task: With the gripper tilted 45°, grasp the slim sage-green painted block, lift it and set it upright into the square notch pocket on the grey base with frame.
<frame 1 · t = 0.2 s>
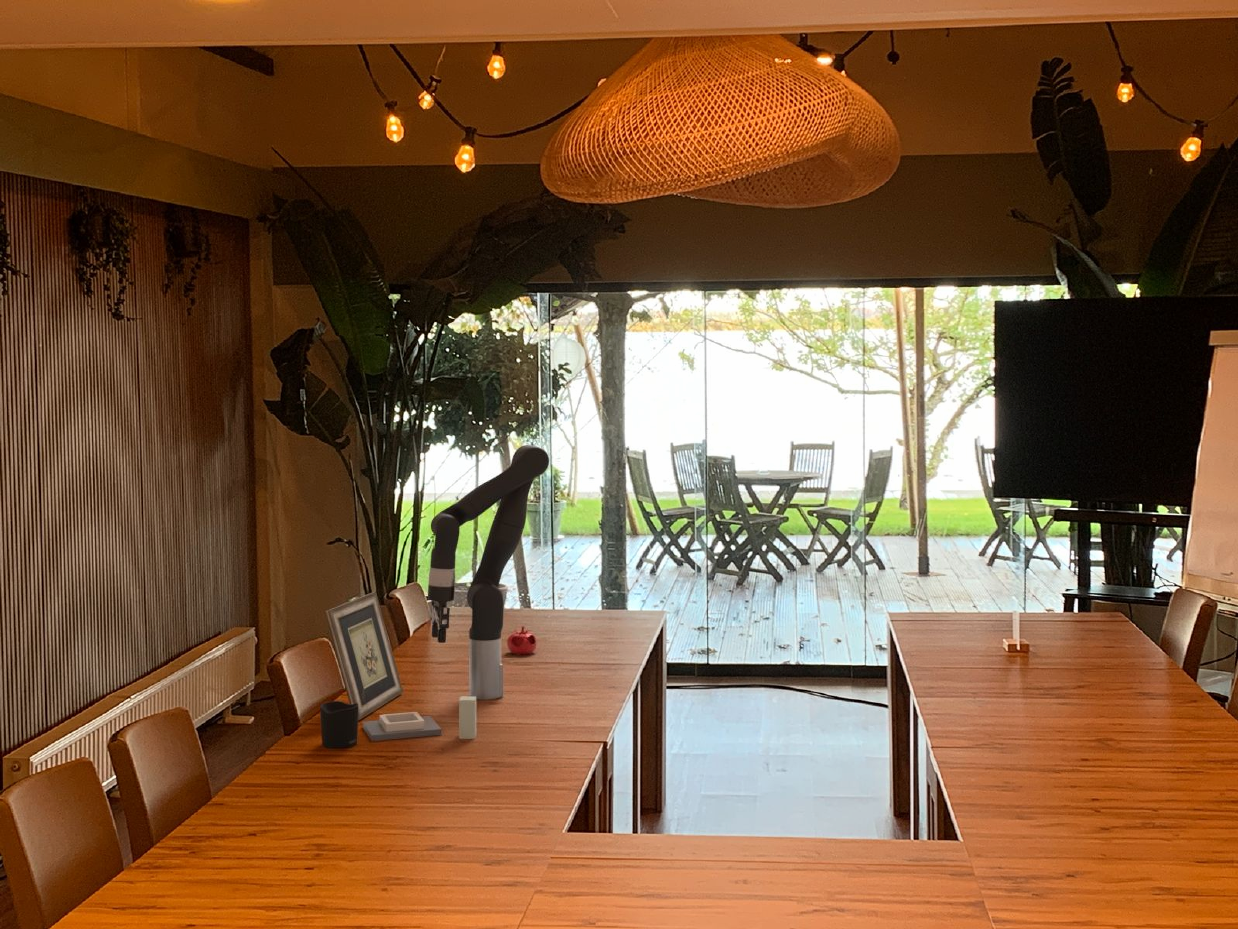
hand: (438, 640, 362), 18 cm above the table, tool pointing down, fingers open, 8 cm apart
picture frame: (365, 707, 356), on the table
pomegranate: (521, 653, 429), on the table
grey base with frame: (401, 731, 330), on the table
sage block: (467, 736, 325), on the table
pen holder: (339, 745, 318), on the table
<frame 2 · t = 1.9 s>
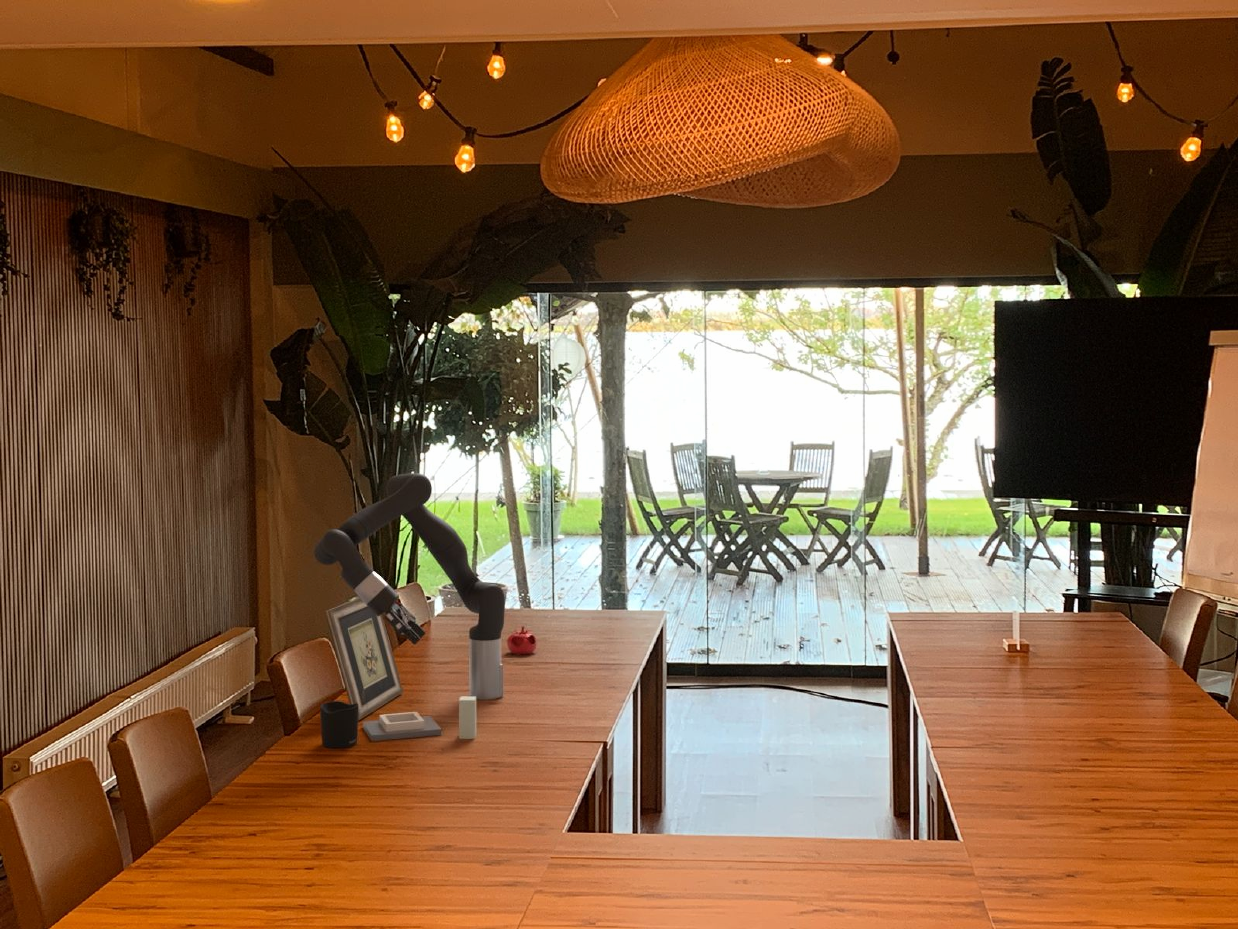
hand: (420, 639, 324), 25 cm above the table, tool tilted 45°, fingers open, 8 cm apart
nothing on the table moved.
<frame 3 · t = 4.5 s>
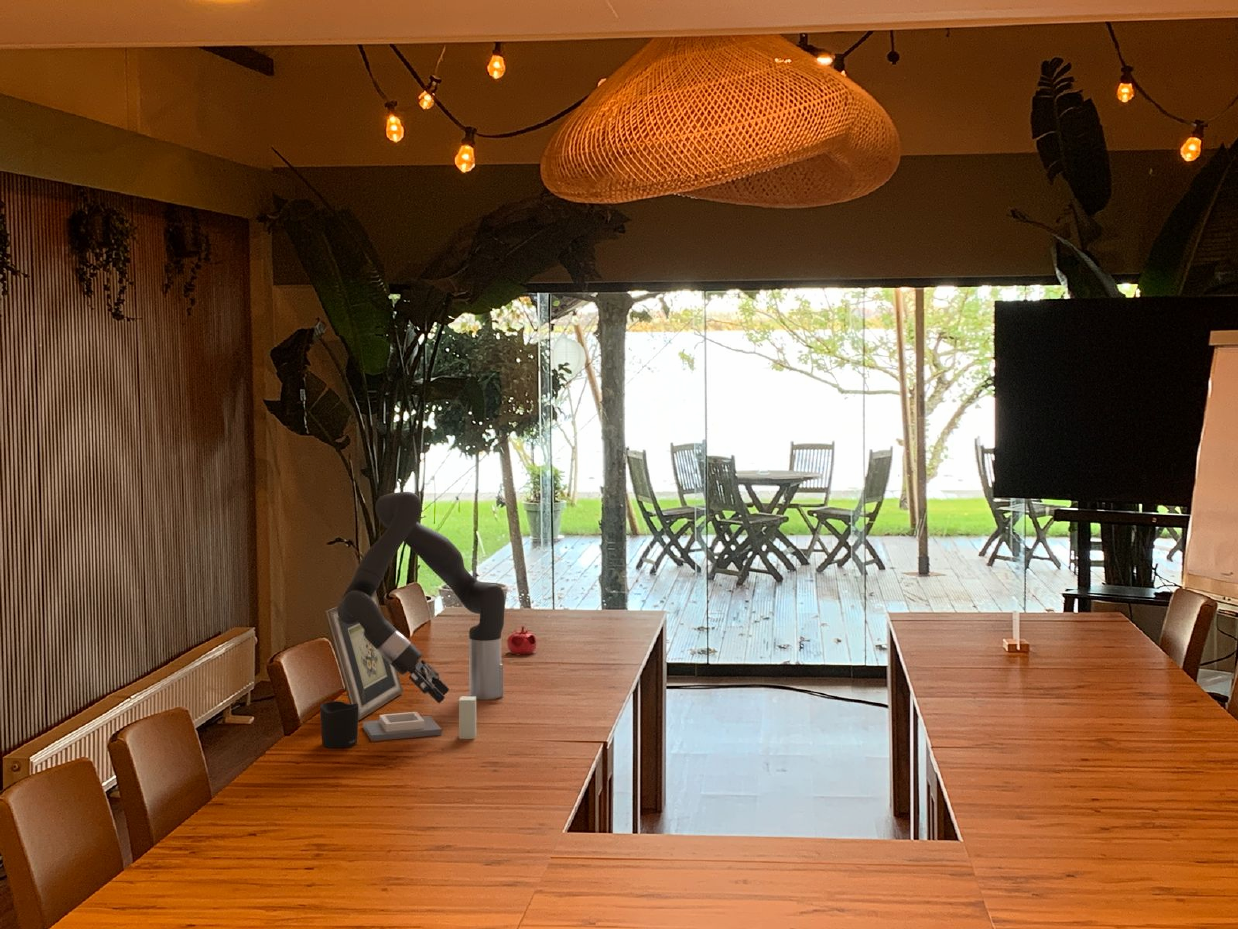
hand: (444, 696, 325), 10 cm above the table, tool tilted 45°, fingers open, 8 cm apart
nothing on the table moved.
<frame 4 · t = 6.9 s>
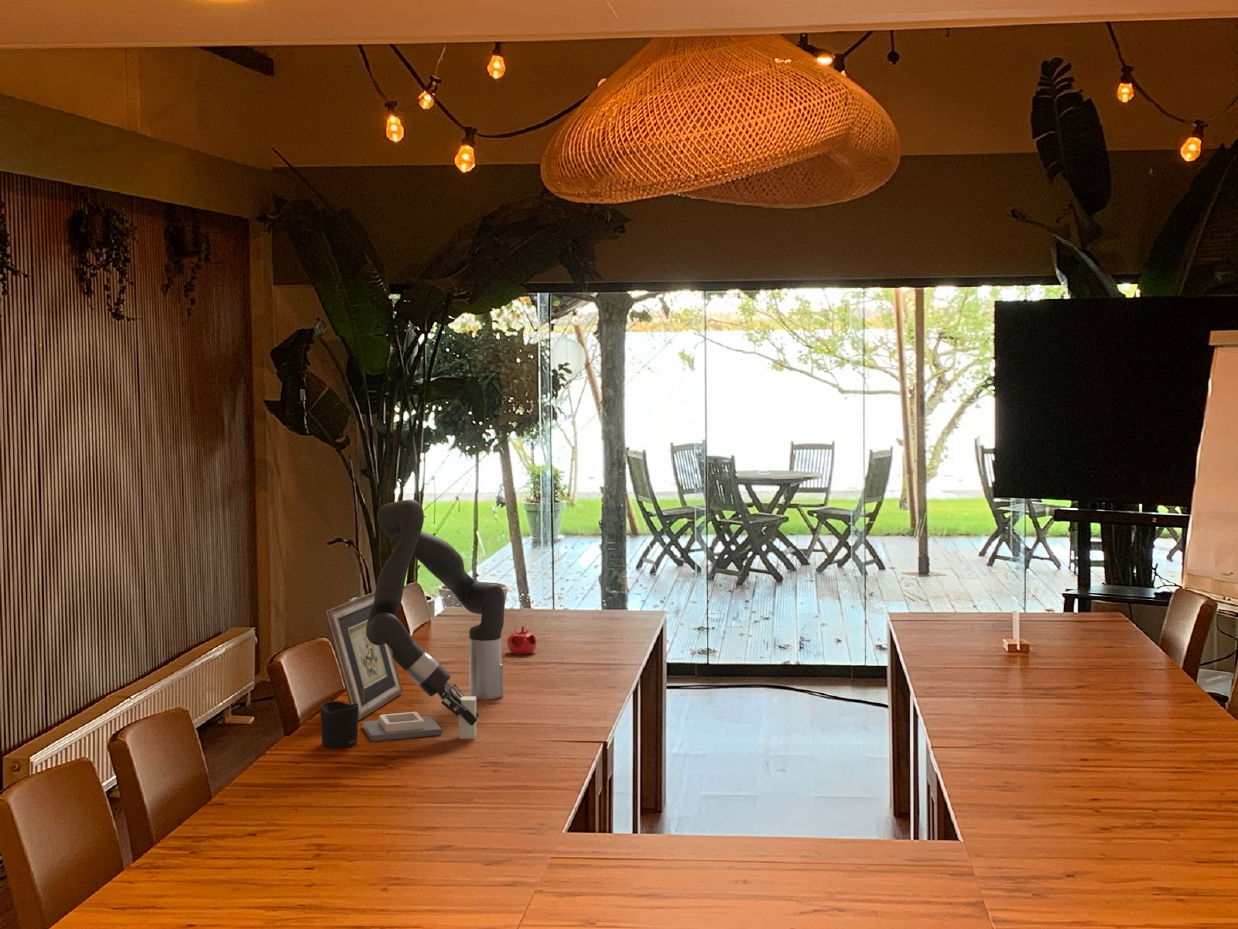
hand: (475, 720, 325), 4 cm above the table, tool tilted 45°, fingers closed on sage block, 4 cm apart
sage block: (467, 736, 325), on the table, touching gripper
everything else where it was.
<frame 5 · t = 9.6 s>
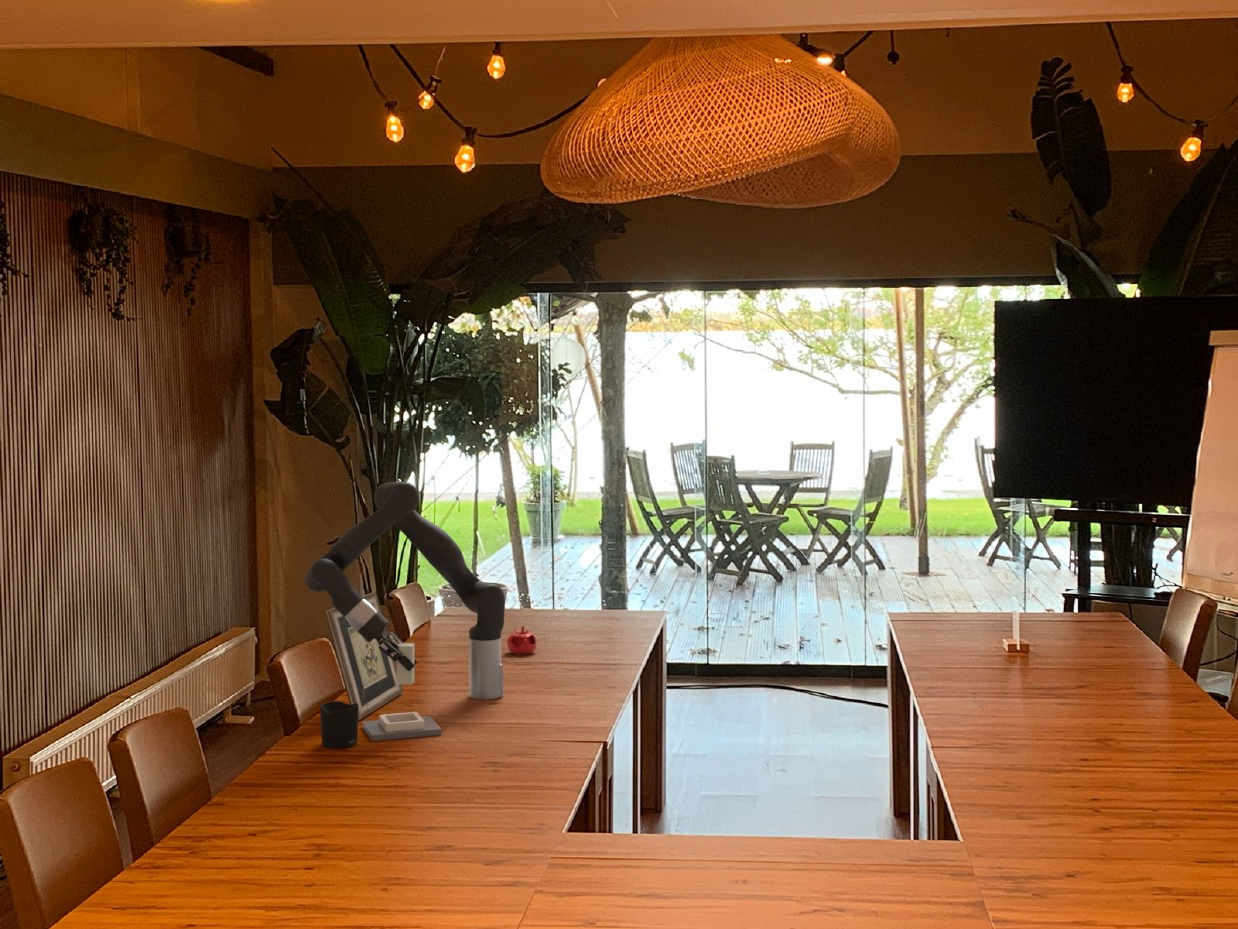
hand: (413, 666, 329), 17 cm above the table, tool tilted 45°, fingers closed on sage block, 4 cm apart
sage block: (405, 682, 329), point 13 cm above the table, touching gripper
everything else where it was.
when the fingers open (7 cm above the table, at t = 12.5 s): sage block stays where it is, resting on grey base with frame.
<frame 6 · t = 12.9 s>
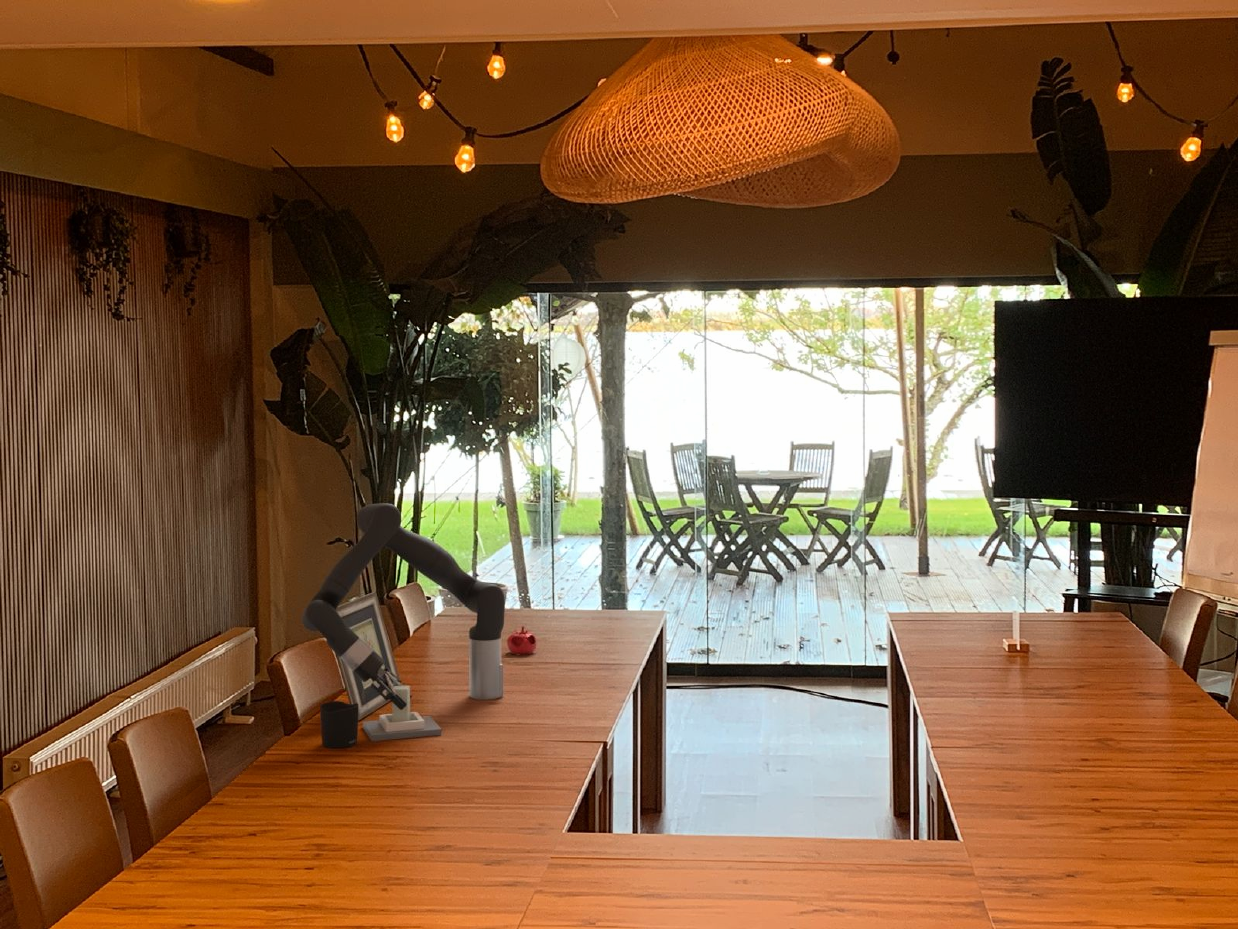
hand: (406, 703, 330), 7 cm above the table, tool tilted 45°, fingers open, 8 cm apart
sage block: (401, 725, 330), point 1 cm above the table, touching grey base with frame
everything else where it was.
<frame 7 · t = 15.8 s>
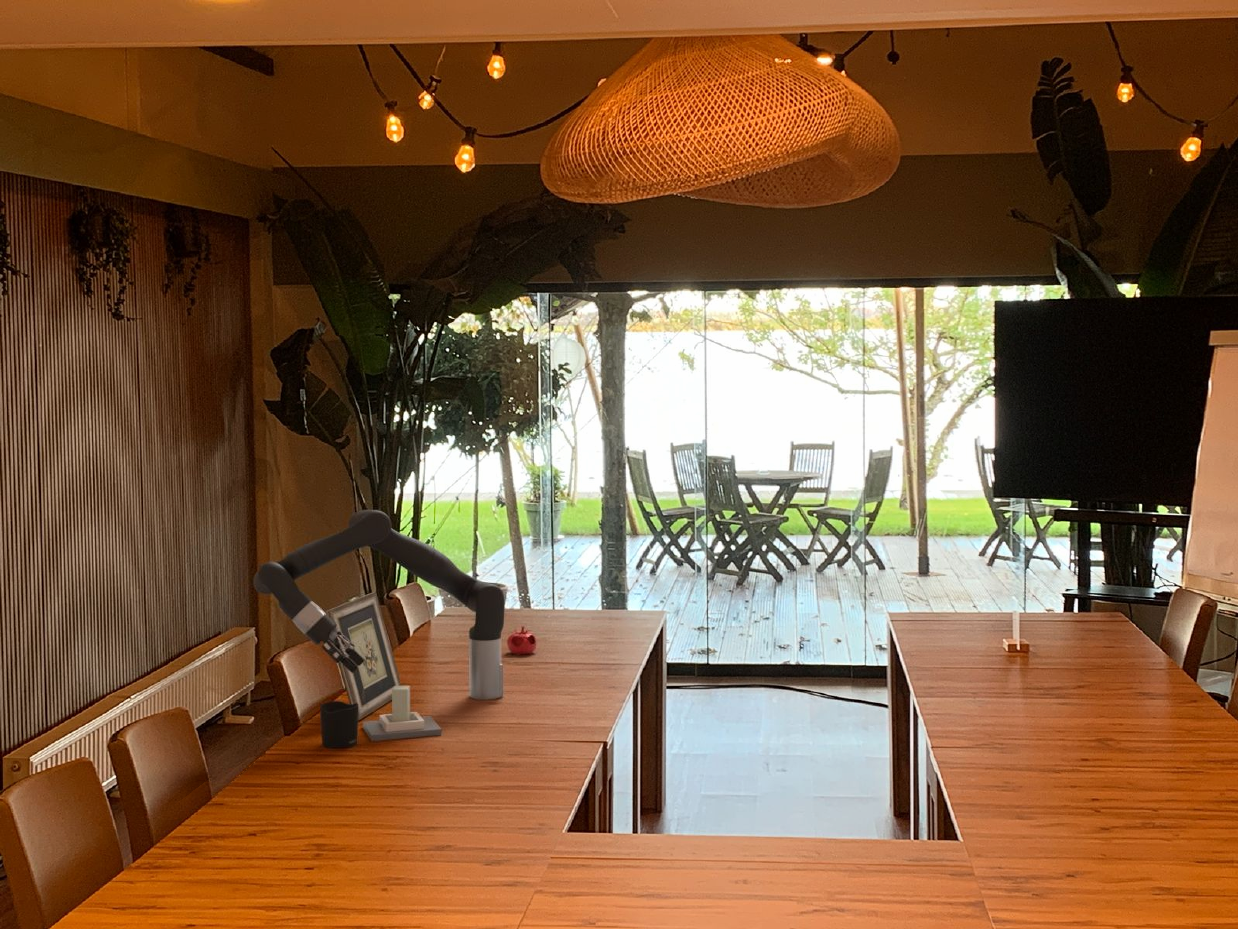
hand: (358, 666, 329), 17 cm above the table, tool tilted 45°, fingers open, 8 cm apart
nothing on the table moved.
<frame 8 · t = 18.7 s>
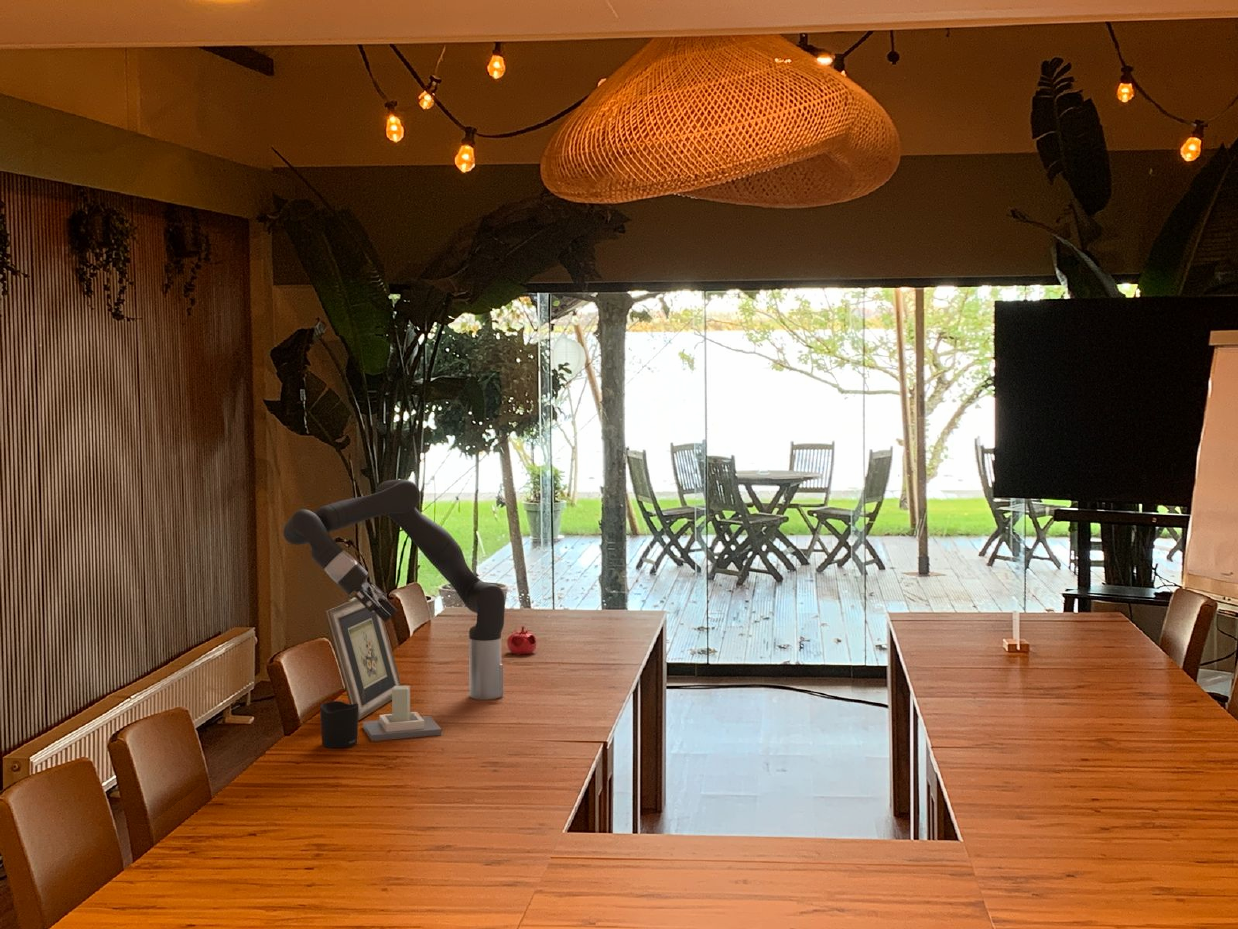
hand: (391, 616, 326), 31 cm above the table, tool tilted 45°, fingers open, 8 cm apart
nothing on the table moved.
at the end: sage block 0.1 cm off-centre on the grey base with frame, point 1.5 cm above the grey base with frame's base; sage block tilted 0°; the gripper is holding nothing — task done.
